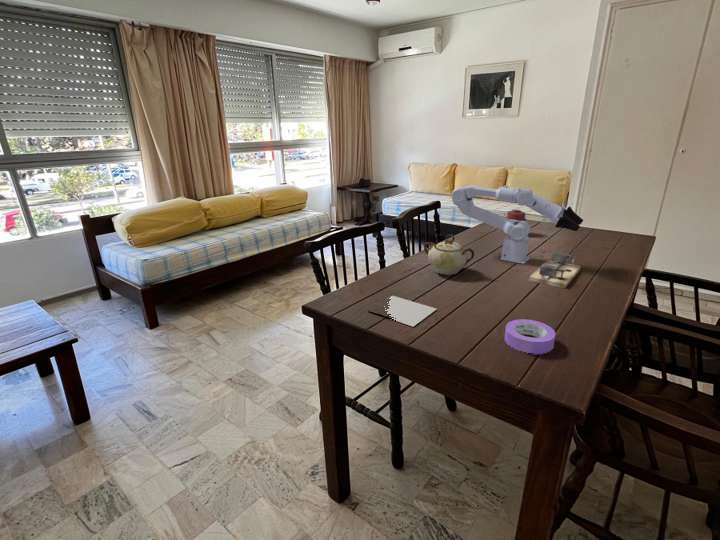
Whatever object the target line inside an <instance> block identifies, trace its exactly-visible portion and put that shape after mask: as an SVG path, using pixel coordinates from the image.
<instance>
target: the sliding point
mask: <svg viewBox="0 0 720 540" xmlns="http://www.w3.org/2000/svg"><path fill="white" fill-rule="evenodd" d="M576 257H577V256H573V255H570V254H569V253H565V252H558V251H555V252H553V253H552V256H551V261H554V262H560V263H565V264H566V263H568V262H569V259H571V264H574V262H575V259H576Z"/></svg>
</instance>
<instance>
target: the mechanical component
mask: <svg viewBox="0 0 720 540" xmlns="http://www.w3.org/2000/svg"><path fill="white" fill-rule="evenodd" d="M506 213H507V214H506V216H505V218H508V219H512V220H517V221H526V222H527V218H526V212H525V211H523V210H521V209H512V210H509V211H507V212H506Z"/></svg>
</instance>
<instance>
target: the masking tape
mask: <svg viewBox="0 0 720 540" xmlns="http://www.w3.org/2000/svg"><path fill="white" fill-rule="evenodd" d="M526 335H529V336H526ZM532 336H533V337H532ZM555 340H556V331H555V330H554V328H552V327H551V326H550V325H547V324H546V323H543V322H541V321H537V320H534V319H525V318H523V319H521V318H520V319H515V320H511V321H508V323H507V324H506V325H505V332H504V342H505V343H506V344H507V346H509V345H510V346H511V348H512V347H513V348H514V350H515V349H516V351H518V350H519V351H518V352H520V351H522V352H521V353H524V352H526V353H525V354H528V353H533V354H532V355H543V354H542V353H546V354H548V353H547V352H549V351H550V352H552V351H553V350H554V347H555ZM510 346H509V347H510ZM513 348H512V349H513ZM552 349H553V350H552ZM551 350H552V351H551ZM550 352H549V353H550Z"/></svg>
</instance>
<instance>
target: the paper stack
mask: <svg viewBox="0 0 720 540" xmlns="http://www.w3.org/2000/svg"><path fill="white" fill-rule="evenodd" d="M388 298H389V297H388ZM389 299H391V300H390V301H389V304H388V305H390V306H388V307H389V309H387V310H385V311H388V312H387V314H391V315H389V316H391V317H394V318H392V319H394V320H393V321H395V320H396V321H395V322H398V323H401V324H403V325H404V324H405V325H408V326H410V327H412V328H414V327H415V326H416V325H417V324H419V323H420V322H422V321H423V320H424V319H426V318H427V317H428V316H430V315H431V314H432V313H434V312H435V311H436V310H437V308H435V307H432V306H428V305H426V304H422V303H418V302H415V301H412V300H408V299H406V298H402V297H399V296H395V295H391V296H390V298H389ZM387 303H388V302H387ZM384 307H385V306H384ZM385 309H386V308H385ZM395 318H396V319H395ZM392 319H391V320H392Z"/></svg>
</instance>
